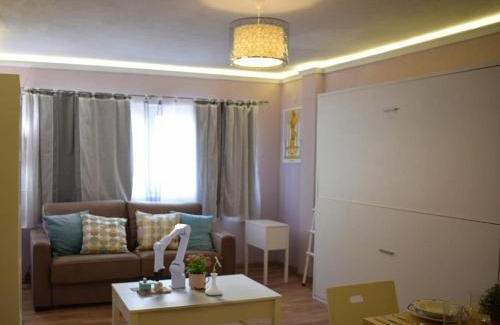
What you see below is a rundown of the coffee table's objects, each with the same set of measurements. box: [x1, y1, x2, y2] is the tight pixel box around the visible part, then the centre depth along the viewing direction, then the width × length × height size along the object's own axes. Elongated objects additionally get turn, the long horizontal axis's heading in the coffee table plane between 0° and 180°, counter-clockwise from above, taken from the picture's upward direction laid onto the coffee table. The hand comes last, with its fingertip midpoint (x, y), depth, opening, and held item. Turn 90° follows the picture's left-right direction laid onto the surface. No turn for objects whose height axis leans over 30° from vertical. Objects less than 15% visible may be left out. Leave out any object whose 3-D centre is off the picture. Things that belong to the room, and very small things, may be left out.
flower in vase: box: [204, 256, 223, 296], centre depth 344 cm, size 13×11×25 cm
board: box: [136, 286, 172, 297], centre depth 345 cm, size 20×12×2 cm, turn 119°
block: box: [153, 281, 164, 291], centre depth 346 cm, size 4×4×6 cm
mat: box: [129, 286, 139, 292], centre depth 352 cm, size 10×8×1 cm
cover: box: [138, 277, 156, 290], centre depth 343 cm, size 8×8×8 cm
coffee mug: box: [204, 273, 210, 285], centre depth 359 cm, size 12×9×10 cm
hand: (158, 280), depth 346 cm, fingers open, 7 cm apart
